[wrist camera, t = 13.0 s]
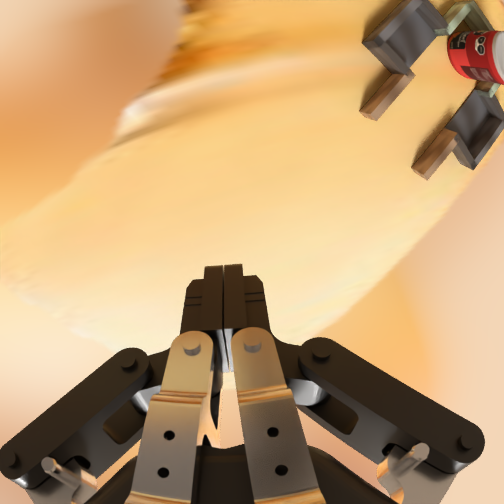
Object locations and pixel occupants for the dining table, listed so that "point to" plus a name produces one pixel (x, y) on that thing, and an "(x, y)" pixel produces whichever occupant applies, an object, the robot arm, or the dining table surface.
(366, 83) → the dining table surface
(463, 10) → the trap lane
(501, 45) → the canned food
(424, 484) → the robot arm
